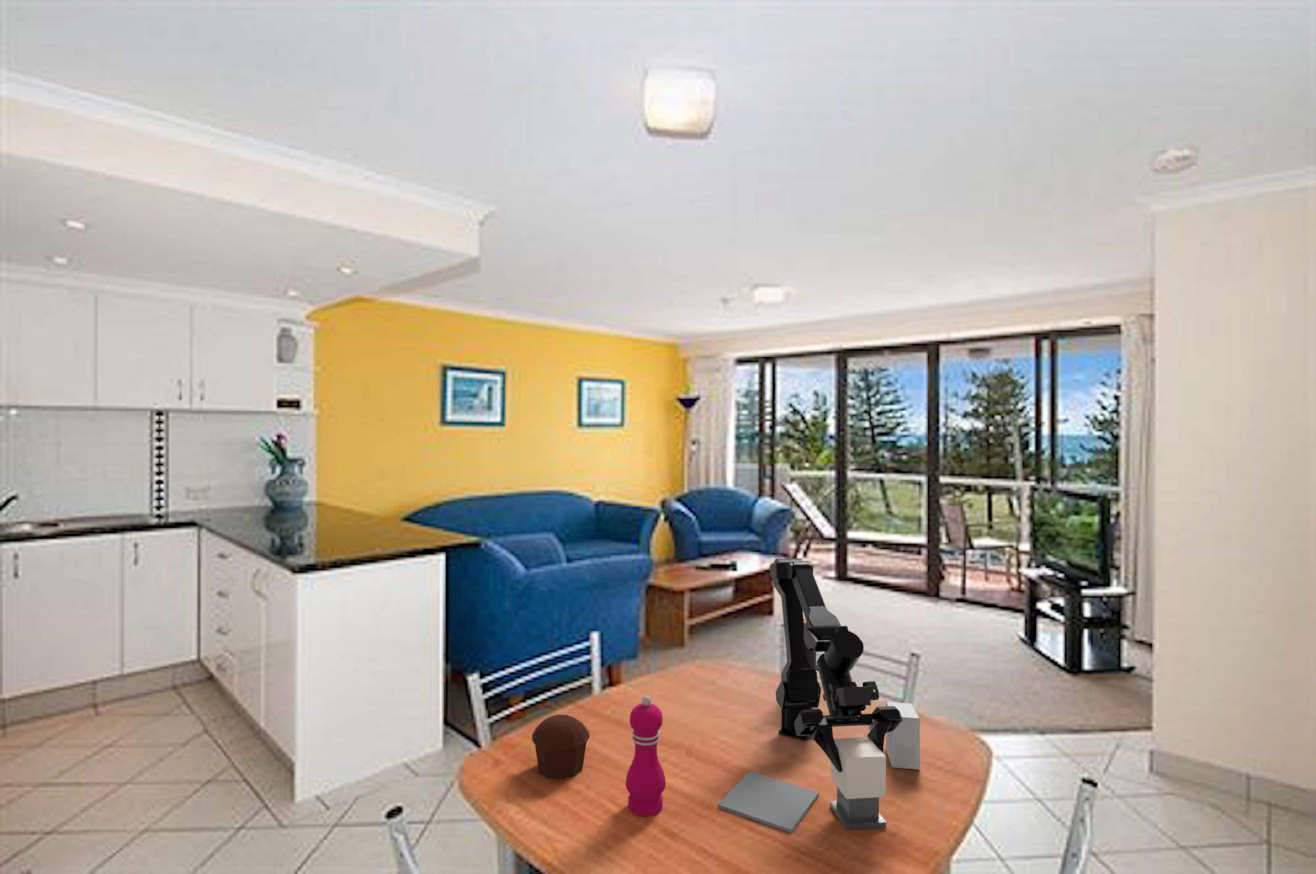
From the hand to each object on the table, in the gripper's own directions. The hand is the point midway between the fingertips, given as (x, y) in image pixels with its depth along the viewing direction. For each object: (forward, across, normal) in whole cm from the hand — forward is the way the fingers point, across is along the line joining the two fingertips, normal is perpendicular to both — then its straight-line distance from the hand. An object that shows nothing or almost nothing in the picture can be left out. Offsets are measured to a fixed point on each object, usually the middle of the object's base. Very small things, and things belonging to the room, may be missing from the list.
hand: (860, 770), depth 113 cm
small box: (-8, +18, +21) cm, 29 cm away
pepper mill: (+1, -37, +12) cm, 39 cm away
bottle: (-32, +8, +45) cm, 55 cm away
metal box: (+5, 0, +7) cm, 9 cm away
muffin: (-10, -53, +23) cm, 59 cm away
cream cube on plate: (+2, 0, +4) cm, 4 cm away
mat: (+1, -14, +12) cm, 18 cm away
